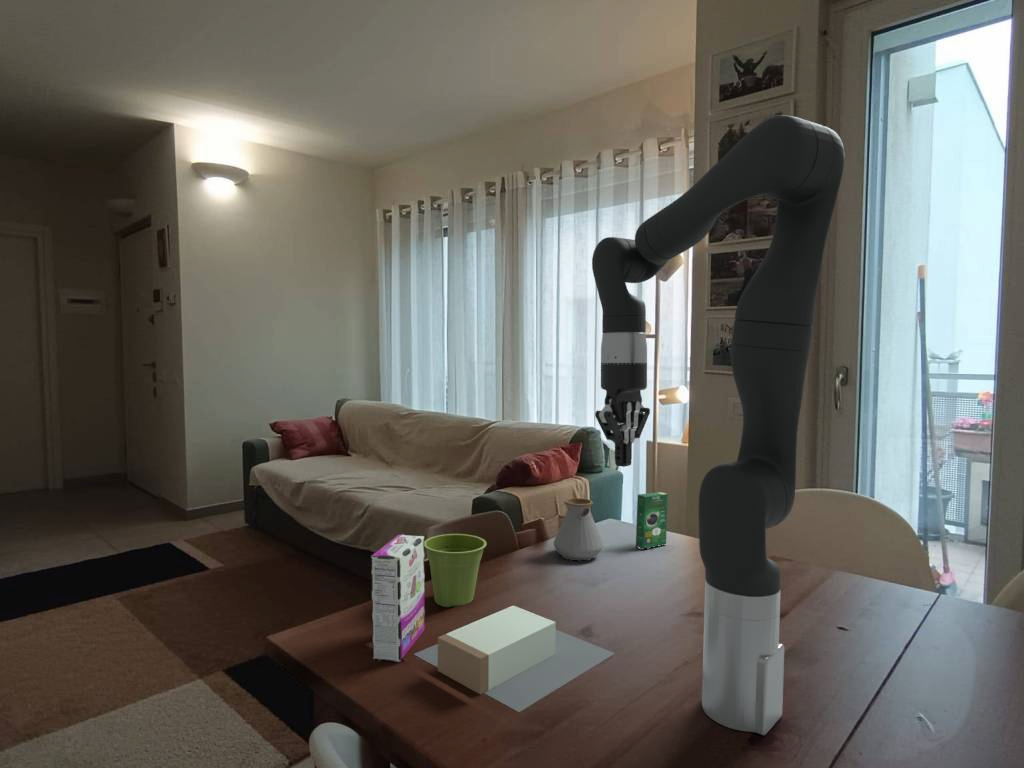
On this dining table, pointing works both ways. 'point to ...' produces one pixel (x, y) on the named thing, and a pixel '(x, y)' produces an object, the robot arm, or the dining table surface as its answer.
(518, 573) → the dining table surface
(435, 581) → the plant pot
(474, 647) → the cream block
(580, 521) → the coffee pot
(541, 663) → the rubber mat
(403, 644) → the candy bar box
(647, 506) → the coffee box
